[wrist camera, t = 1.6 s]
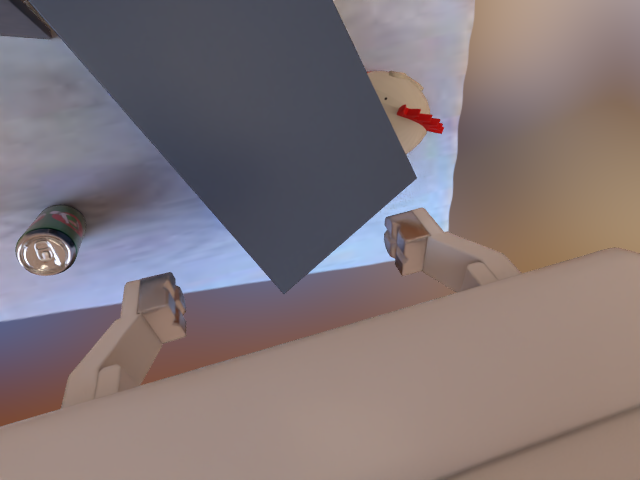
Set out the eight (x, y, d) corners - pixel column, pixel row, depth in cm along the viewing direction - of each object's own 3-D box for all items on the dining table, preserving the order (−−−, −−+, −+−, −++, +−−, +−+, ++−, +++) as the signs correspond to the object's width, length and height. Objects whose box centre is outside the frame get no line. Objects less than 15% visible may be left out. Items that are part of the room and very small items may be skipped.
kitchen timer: (352, 55, 57) (417, 40, 44) (417, 93, 64) (489, 89, 51) (321, 145, 59) (375, 154, 46) (387, 172, 66) (449, 187, 53)
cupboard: (227, 227, 57) (283, 294, 36) (56, 30, 42) (-13, -46, 21) (317, 154, 59) (417, 177, 39) (188, -55, 44) (239, -196, 24)
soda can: (45, 246, 47) (22, 284, 37) (31, 207, 45) (4, 236, 35) (91, 238, 49) (82, 272, 39) (80, 200, 47) (67, 225, 37)
